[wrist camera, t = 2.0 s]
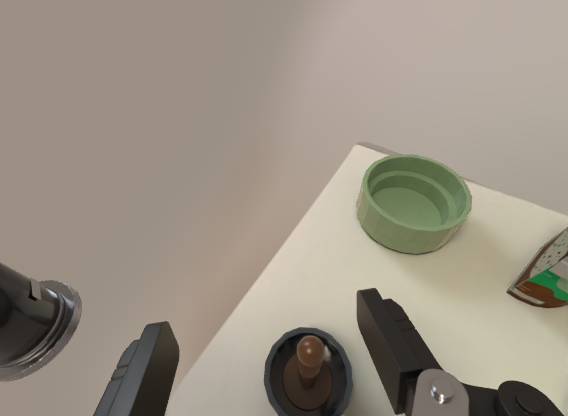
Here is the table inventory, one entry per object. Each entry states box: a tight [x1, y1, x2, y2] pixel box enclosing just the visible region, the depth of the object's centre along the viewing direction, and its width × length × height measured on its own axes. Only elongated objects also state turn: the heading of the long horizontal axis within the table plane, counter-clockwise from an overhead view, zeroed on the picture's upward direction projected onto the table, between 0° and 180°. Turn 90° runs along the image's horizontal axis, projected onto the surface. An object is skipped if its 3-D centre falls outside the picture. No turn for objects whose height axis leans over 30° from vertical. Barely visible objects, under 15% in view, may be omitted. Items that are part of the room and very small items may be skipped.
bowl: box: [356, 154, 472, 254], centre depth 37 cm, size 13×13×6 cm
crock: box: [264, 327, 353, 416], centre depth 25 cm, size 7×7×6 cm
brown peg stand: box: [282, 336, 333, 411], centre depth 21 cm, size 5×5×16 cm
